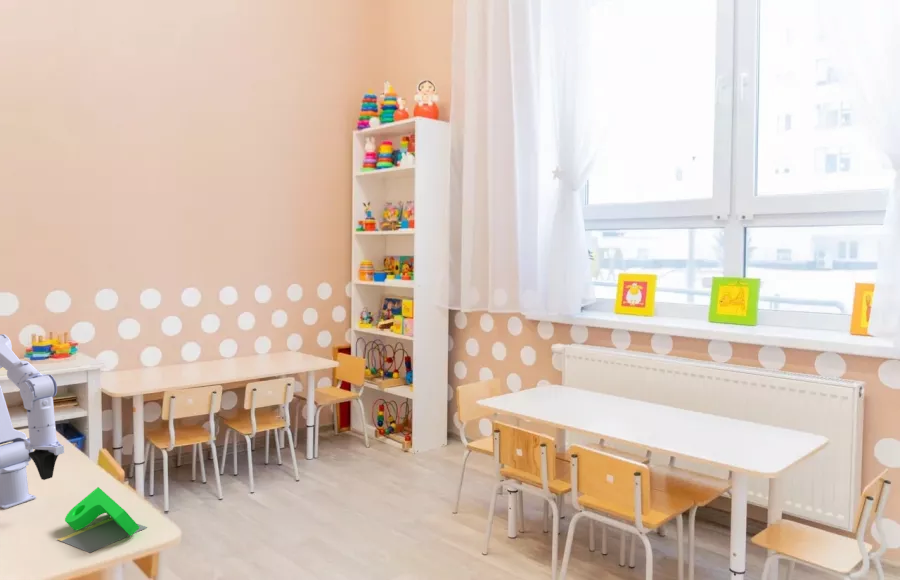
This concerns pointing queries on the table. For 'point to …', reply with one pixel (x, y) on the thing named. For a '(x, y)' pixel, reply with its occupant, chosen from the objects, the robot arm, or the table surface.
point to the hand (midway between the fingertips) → (46, 478)
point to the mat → (97, 535)
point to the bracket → (99, 512)
